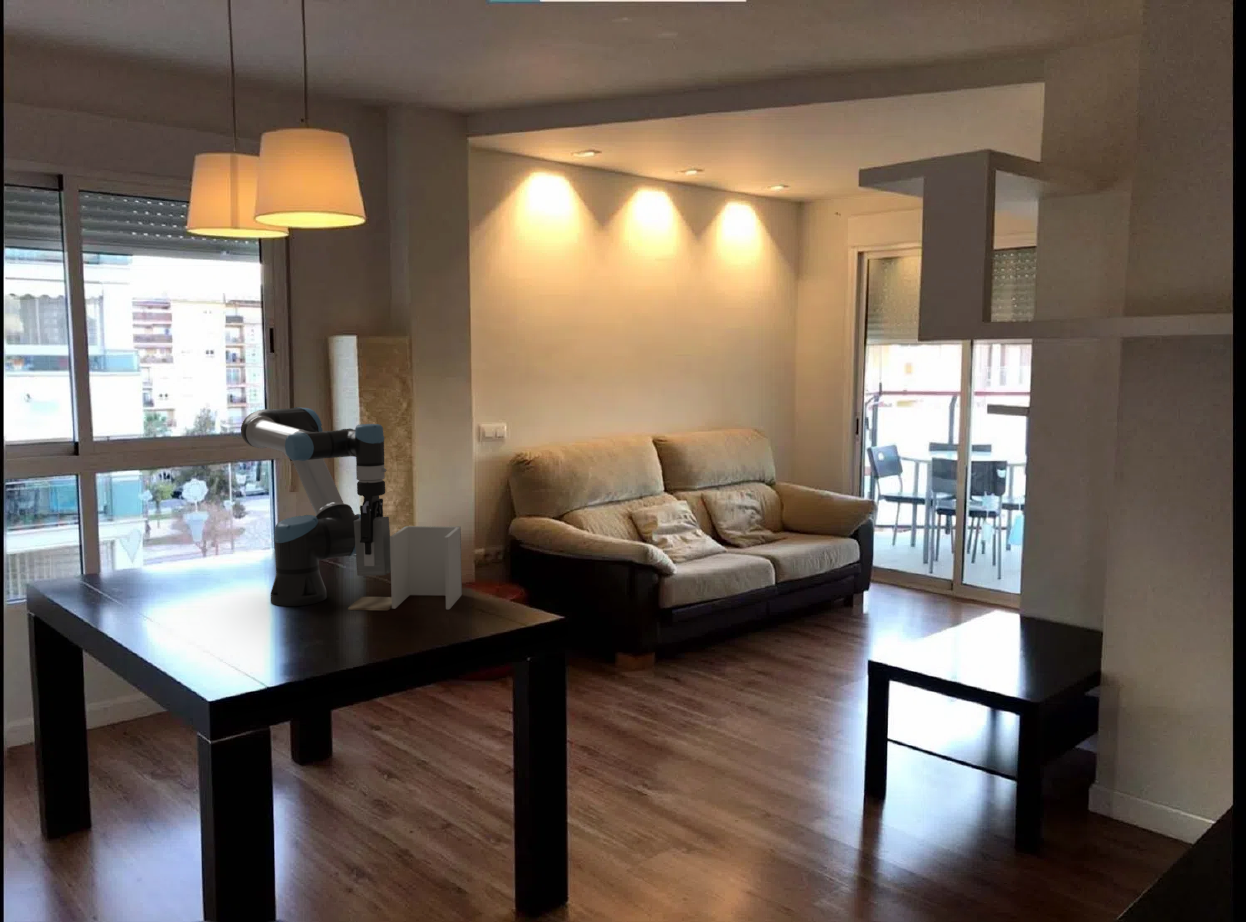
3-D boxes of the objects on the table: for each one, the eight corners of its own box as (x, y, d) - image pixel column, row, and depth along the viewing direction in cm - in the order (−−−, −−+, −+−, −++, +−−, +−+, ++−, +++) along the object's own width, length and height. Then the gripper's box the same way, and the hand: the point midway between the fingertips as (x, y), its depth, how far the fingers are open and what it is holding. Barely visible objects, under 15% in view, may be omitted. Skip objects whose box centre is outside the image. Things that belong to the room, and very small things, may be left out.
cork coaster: (348, 609, 275) (348, 607, 275) (361, 598, 287) (361, 596, 286) (388, 610, 274) (387, 608, 274) (399, 599, 286) (399, 597, 286)
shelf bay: (391, 608, 276) (389, 536, 274) (407, 594, 292) (405, 526, 290) (449, 609, 275) (448, 537, 273) (461, 594, 291) (460, 526, 289)
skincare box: (392, 572, 282) (391, 515, 281) (384, 576, 275) (383, 519, 274) (363, 571, 283) (362, 515, 282) (354, 576, 276) (353, 518, 275)
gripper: (373, 485, 266) (376, 570, 269) (394, 475, 286) (396, 555, 288) (345, 485, 267) (348, 570, 269) (368, 475, 286) (370, 555, 289)
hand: (373, 562), depth 279 cm, fingers closed on skincare box, 7 cm apart
